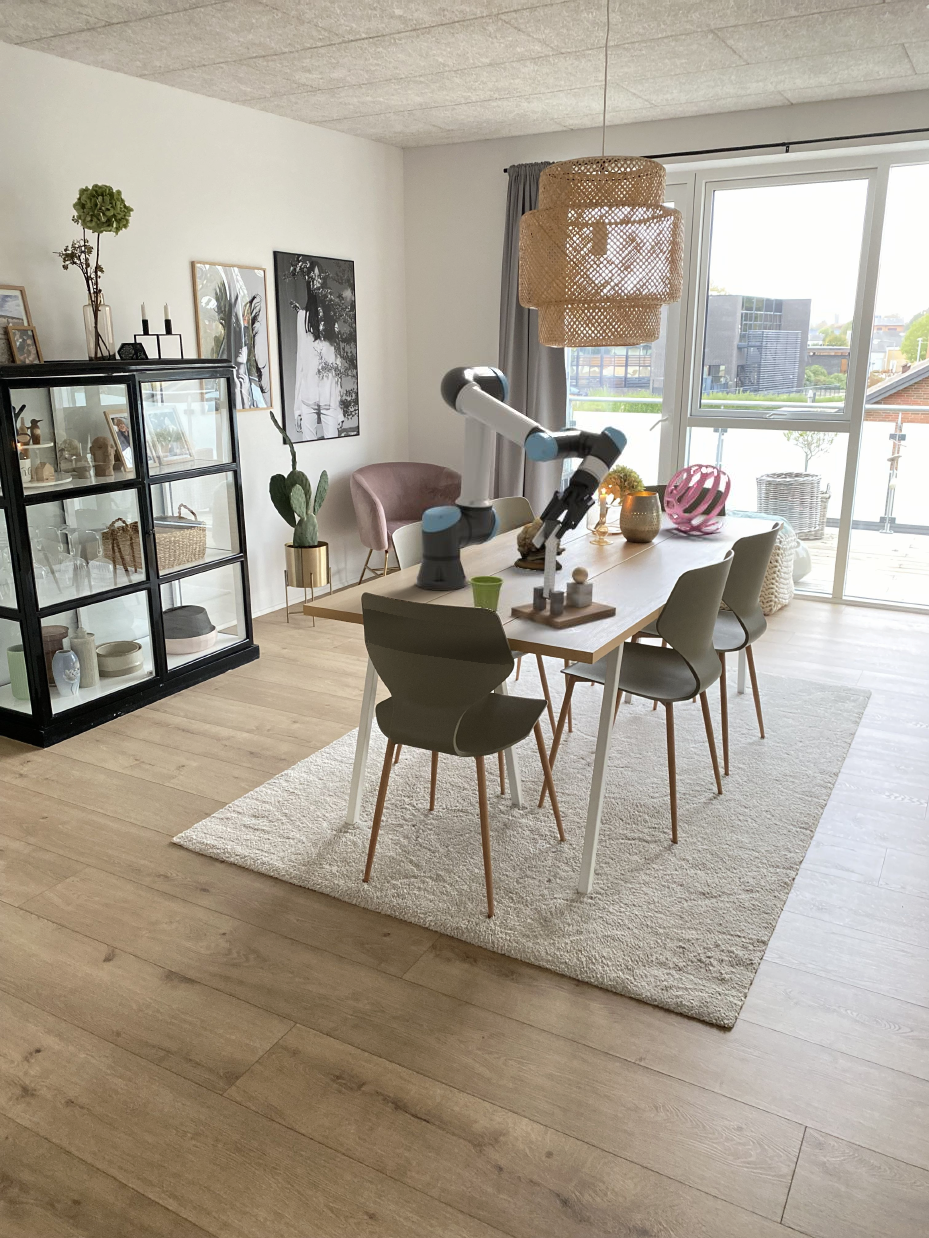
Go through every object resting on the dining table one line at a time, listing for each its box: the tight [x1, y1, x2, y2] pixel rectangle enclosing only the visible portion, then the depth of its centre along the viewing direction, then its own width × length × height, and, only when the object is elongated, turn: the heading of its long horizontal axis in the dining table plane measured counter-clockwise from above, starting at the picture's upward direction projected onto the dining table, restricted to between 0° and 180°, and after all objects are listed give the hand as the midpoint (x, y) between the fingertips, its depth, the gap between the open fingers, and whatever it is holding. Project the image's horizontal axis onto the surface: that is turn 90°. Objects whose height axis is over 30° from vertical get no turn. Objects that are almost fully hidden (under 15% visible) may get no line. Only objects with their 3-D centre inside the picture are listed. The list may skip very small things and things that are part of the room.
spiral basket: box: [663, 463, 732, 535], centre depth 375 cm, size 28×28×27 cm
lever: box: [542, 519, 562, 600], centre depth 249 cm, size 4×4×21 cm
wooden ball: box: [571, 566, 589, 583], centre depth 257 cm, size 4×4×4 cm
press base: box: [510, 580, 617, 630], centre depth 255 cm, size 18×22×8 cm
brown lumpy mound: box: [513, 516, 567, 572], centre depth 312 cm, size 18×12×17 cm, turn 60°
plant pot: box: [469, 575, 504, 612], centre depth 260 cm, size 9×9×9 cm
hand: (541, 545), depth 245 cm, fingers closed on lever, 4 cm apart
